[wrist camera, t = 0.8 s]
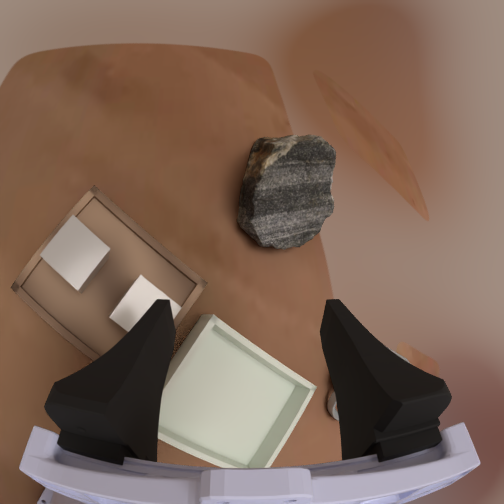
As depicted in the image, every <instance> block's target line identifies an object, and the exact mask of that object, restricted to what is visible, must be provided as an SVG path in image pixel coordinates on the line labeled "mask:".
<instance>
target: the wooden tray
mask: <svg viewBox="0 0 504 504" xmlns="http://www.w3.org/2000/svg"><path fill="white" fill-rule="evenodd" d="M72 215H74V216H75V217H76V218H77V219H78V220H79V221H80V222H81V223H83V224H84V225H85V226H86V227H87V228H88V229H89V230H90V231H91V232H92V233H93V234H95V235H96V236H97V237H98V238H99V239H100V240H101V241H102V242H103V243H105V244H106V245H107V246H108V247H109V248H110V254H109V259H108V260H107V261H106V263H105V264H104V265H103V266H102V268H101V269H100V270H99V272H98V273H97V274H96V275H95V277H94V278H93V279H92V281H91V282H90V283H89V285H88V286H87V287H86V289H85V290H84V291H83V293H82V294H81V293H80V292H79V291H77V290H76V289H75V288H74V287H73V286H72V285H71V284H70V283H69V282H67V281H66V280H65V279H64V278H63V277H62V276H61V275H60V274H59V273H58V272H57V271H56V270H54V269H53V268H52V267H51V266H50V265H49V264H48V263H47V262H46V261H45V260H44V259H43V258H42V257H41V256H40V254H41V253H42V251H43V250H44V249H45V247H46V246H47V245H48V244H49V242H50V241H51V240H52V239H53V237H54V236H55V235H56V234H57V233H58V231H59V230H60V229H61V228H62V227H63V225H64V224H65V223H66V222H67V221H68V220H69V219H70V217H71V216H72ZM140 275H142V276H143V277H144V278H145V279H147V280H148V281H149V282H150V283H152V284H153V285H154V286H155V287H157V288H158V289H159V290H160V291H162V292H163V293H164V294H165V295H167V296H168V297H169V298H170V299H172V300H173V301H174V302H176V303H177V304H178V305H179V306H181V307H182V308H181V309H180V311H179V312H178V314H177V315H176V317H175V318H174V319H173V320H174V325H175V330H176V328H177V327H178V325H179V324H180V322H181V321H182V320H183V318H184V317H185V315H186V314H187V312H188V311H189V309H190V308H191V306H192V305H193V304H194V302H195V301H196V299H197V298H198V296H199V295H200V293H201V292H202V291H203V289H204V288H205V286H206V285H207V282H206V281H205V280H203V279H202V278H201V277H200V276H199V275H197V274H196V273H195V272H194V271H192V270H191V269H190V268H189V267H188V266H186V265H185V264H184V263H183V262H182V261H180V260H179V259H178V258H177V257H176V256H174V255H173V254H172V253H171V252H170V251H168V250H167V249H166V248H165V247H164V246H162V245H161V244H160V243H159V242H158V241H157V240H155V239H154V238H153V237H152V236H151V235H150V234H148V233H147V232H146V231H145V230H144V229H143V228H141V227H140V226H139V225H138V224H137V223H136V222H135V221H133V220H132V219H131V218H130V217H129V216H128V215H127V214H126V213H124V212H123V211H122V210H121V209H120V208H119V207H118V206H117V205H115V204H114V203H113V202H112V201H111V200H110V199H109V198H108V197H107V196H105V195H104V194H103V193H102V192H101V191H100V190H99V189H98V188H97V187H96V186H95V185H94V186H93V187H92V188H91V189H90V190H89V191H88V192H87V193H86V194H85V195H84V196H83V198H82V199H81V200H80V201H79V202H78V203H77V204H76V205H75V206H74V207H73V208H72V210H71V211H70V212H69V213H68V214H67V215H66V216H65V218H64V219H63V220H62V221H61V222H60V223H59V225H58V226H57V227H56V228H55V229H54V230H53V232H52V233H51V234H50V235H49V237H48V238H47V239H46V240H45V241H44V243H43V244H42V245H41V247H40V248H39V249H38V250H37V252H36V253H35V254H34V256H33V257H32V258H31V260H30V261H29V262H28V264H27V265H26V266H25V268H24V269H23V270H22V272H21V273H20V275H19V276H18V277H17V279H16V280H15V282H14V283H13V285H12V286H11V288H12V289H13V291H14V292H15V293H16V294H17V295H18V296H19V297H20V298H21V299H22V300H23V301H24V302H25V303H26V304H27V305H29V306H30V307H31V308H32V309H33V310H34V311H35V312H36V313H37V314H38V315H39V316H40V317H41V318H42V319H43V320H45V321H46V322H47V323H48V324H49V325H50V326H51V327H52V328H54V329H55V330H56V331H57V332H58V333H59V334H61V335H62V336H63V337H64V338H65V339H66V340H68V341H69V342H70V343H71V344H73V345H74V346H75V347H76V348H78V349H79V350H80V351H81V352H83V353H84V354H85V355H86V356H88V357H89V358H90V359H92V360H93V361H95V360H96V359H98V358H99V357H101V356H102V355H103V354H105V353H106V352H107V351H109V350H110V349H111V348H112V347H113V346H114V345H115V344H117V343H118V342H119V341H120V340H121V339H122V338H123V337H124V336H125V335H126V334H127V333H128V331H126V330H125V329H124V328H122V327H121V326H120V325H119V324H117V323H116V322H115V321H113V320H112V319H111V318H110V317H109V316H108V315H109V314H110V312H111V311H112V310H113V308H114V307H115V305H116V304H117V303H118V301H119V300H120V299H121V297H122V296H123V295H124V293H125V292H126V290H127V289H128V288H129V286H130V285H131V284H132V282H133V281H134V280H135V279H136V278H137V277H138V276H140Z"/></svg>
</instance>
